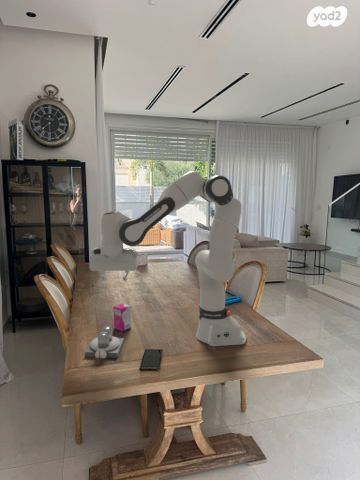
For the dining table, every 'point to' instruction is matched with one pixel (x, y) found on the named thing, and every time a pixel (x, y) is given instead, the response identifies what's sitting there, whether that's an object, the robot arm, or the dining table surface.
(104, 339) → the cylinder
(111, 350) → the scale
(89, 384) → the dining table surface
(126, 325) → the supplement box
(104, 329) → the cylinder
